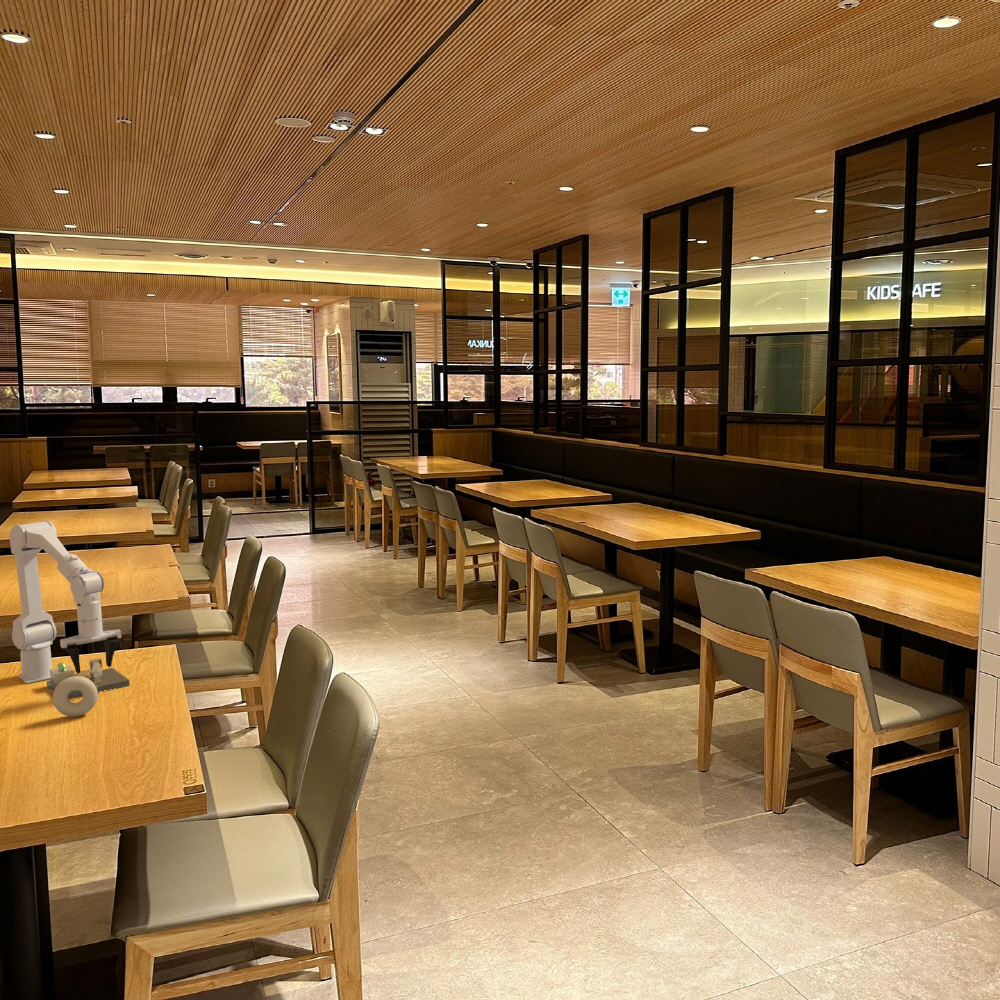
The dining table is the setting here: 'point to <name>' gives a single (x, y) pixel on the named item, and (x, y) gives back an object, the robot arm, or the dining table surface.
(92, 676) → the gold rounded piece
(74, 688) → the donut
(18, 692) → the dining table surface
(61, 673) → the instrument base
